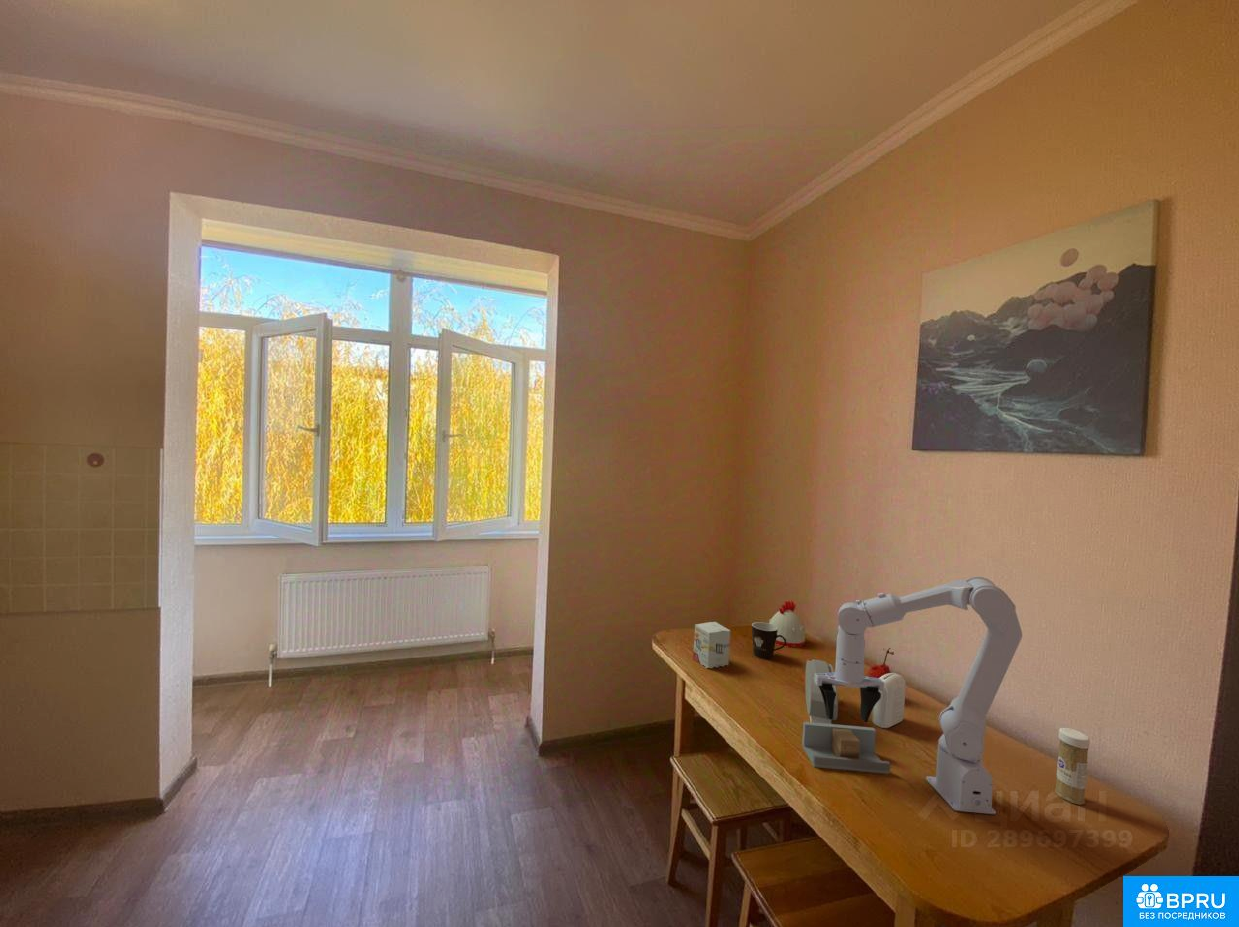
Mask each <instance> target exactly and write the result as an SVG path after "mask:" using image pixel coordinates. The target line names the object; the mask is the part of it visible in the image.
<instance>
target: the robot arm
mask: <svg viewBox="0 0 1239 927" xmlns="http://www.w3.org/2000/svg"><path fill="white" fill-rule="evenodd" d="M947 605H948V606H952V607H956V608H958V609H962V610H965V611H968V610H969V609H968V606H970V607H971V608H972V610H973V611H974V612H975V613H977V615H979V617H980V619H981V621H982V622H983V624H984V625H985V627H986V628H987V631H986V633H985V635H984V638H983V639H982V642H981V644H980V647H979V649H978V651H977V653H976V656H975V658H974V660H973V663H972V665H971V667H970V669H969V671H968V674H967V675H966V678H965V680H964V682H963V685H962V687H961V689H960V691H959V693H958V695H957V697H955V698H953V699H952V700H951V701H950V702H951V703H949V706H948V707H946V708H944V709H943V710H942V711H941V712H940V713H939V716H938V723H939V726H940V729H941V730H942V732H943V733H942V735H941V736H940V737H939V739H938V740H937V742H938V743H937V754H936V755H937V756H936V770H935V771H936V772H935V776H926V777H925V780H926V781H927V782H928V783H929V784H930V785H931V786H932V787H933V789H935V791H936V792H937V793H938V794H939V795H940V796H941V797H942V798H943V799H944V800H945V802H946V803H947V804H948V805H949V806H950V807H951V808H952V809H953V810H954V811H957V812H958V811H959V812H965V813H966V812H967V813H979V814H988V815H997V811H996V810H995V809H994V808H993V793H994V792H993V790H994V789H993V788H994V780H993V778H992V777H993V776H991V774H990V773H989V771H988V770H987V769H986V768H985V766H984V763H983V760H982V756H983V754H984V751H985V743H984V736H985V735H986V732H987V715H988V713H989V711H990V709H991V706H992V704H993V702H994V699H995V698H996V696H997V693H998V691H999V689H1000V686H1001V685H1002V682H1003V680H1004V678H1005V675H1006V673H1007V671H1008V669H1009V667H1010V664H1011V663H1012V660H1013V658H1014V656H1015V653H1016V651H1017V649H1018V648H1019V645H1020V642H1021V641H1022V639H1023V631H1022V628H1021V624H1020V622H1019V618H1018V615H1017V611H1016V605H1015V603H1014V602H1013V600H1012V599H1011V597H1009V595H1008V594H1007V593H1006V592H1005V591H1004V590H1003V589H1001V588H1000V587H998V586H997V585H996V584H995V583H994V582H993V581H992V580H991V579H990V580H989V579H988V578H986V577H983V576H982V577H981V576H973V577H969V578H967V579H965V578H964V579H957V580H953V581H949V582H947V583H944V584H943V583H942V584H940V585H937V586H934V587H929V588H926V589H924V590H920V591H916V592H914V593H910V594H907V595H903V596H900V597H899V596H897V595H894V594H892V593H887V594H885V592H879V593H877V596H875V597H872V598H867V599H864V600H861V599H856V600H855V602H846V603H843V604H842V605H841V606H840V608H839V610H838V611H837V621H838V622H837V623H838V627H837V633H838V634H837V635H836V648H835V649H836V650H835V651H836V652H835V667H834V672H832V673H821V674H817V673H815V676H814V682H815V683H816V684H817V686H819V689H820V691H821V694H822V697H823V700H824V704H825V710H826V715H827V717H828V718H829V719H831V721H834V720H833V711H834V701H835V697H836V693H835V691H834V690H833V689H834V688H833V687H832V685H833V686H837V687H845V688H846V687H847V688H859V692H860V710H859V711H860V712H859V714H860V715H859V716H860V718H861V720H862V721H863V722H864V723H868V722H869V719H870V716H871V715H872V709H873V708H874V706H875V704H876V703H877V702H878V701H879V700H880V698H881V693H880V692H879V691H878V690H881V691H884V682H883V681H882V680H881V679H880V678H873V677H868V676H866V675H865V673H864V671H865V670H864V669H865V655H866V654H865V652H866V640H865V631H867V629H868V628H874V627H879V626H882V625H887V624H892V623H897V622H900V621H903V620H904V618H905V616H906V614H907V613H911V612H917V611H921V610H926V609H927V610H928V609H933V608H936V607H941V606H947Z"/></svg>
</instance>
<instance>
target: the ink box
mask: <svg viewBox="0 0 1239 927" xmlns="http://www.w3.org/2000/svg"><path fill="white" fill-rule="evenodd" d="M730 641H731V630H730V629H728V628H726V627H725V626H724V625H722V624H720V623H718V622H717V621H709V622H704V623H698V624H694V642H693V652H692V653H693V654H692V655H693V656H692V659H693V660H694V661H695V662H697V663H699V664H700V665H702V666H703V665H704V666H705V667H704V666H703V667H704V668H706V669H707V668H711V669H714V668H713V667H716V668H720V667H719V666H722V667H726V666H725V665H727V666H729V661H730V660H729V658H730V643H731V642H730Z"/></svg>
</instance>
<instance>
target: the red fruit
mask: <svg viewBox="0 0 1239 927" xmlns="http://www.w3.org/2000/svg"><path fill="white" fill-rule="evenodd" d="M882 650H884V651H885V656H884V657H883V663H882V664H871V666H870V669H869V670H868V671H867V673H866V675H865V676H868V677H873V678H880V677H881V676H883V675H885V674H889V673H892V672H891V670H890V666H888V665H887V664H886V661H887V656H888V654H889V655H891V656H892V655H893V656H894V653H895V652H894V651H890V650H891V647H889V648H888V649H886V648H883V649H882Z"/></svg>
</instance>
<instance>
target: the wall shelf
mask: <svg viewBox="0 0 1239 927" xmlns="http://www.w3.org/2000/svg"><path fill="white" fill-rule="evenodd" d="M802 724H803V726H802V737H801V738H802V740H801V747H802V748H803V750H804V751H805V753H806V755H807V757H808V759H809V760H810V762H811V765H813V767H814V768H818V769H819V768H822V769H832V770H840V771H841V770H843V771H854V772H855V771H856V772H866V773H877V774H887V775H891V774H890V772H891V763H890V761H887V760H881V758H880V757H879V756H878V754H876V737H877V730H876V728H874V727H869V726H860V725H858V726H857V725H845V724H835V723H831V724H824V723H813V722H811V721H803V723H802ZM833 729H845V730H851V731H852V732H853V734H854V735H855V736H856V737H857V739H858V740H859V741H860V746H859V759H856V758H845V757H836V756H835V755H834V753H833V752H832V733H833Z"/></svg>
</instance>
